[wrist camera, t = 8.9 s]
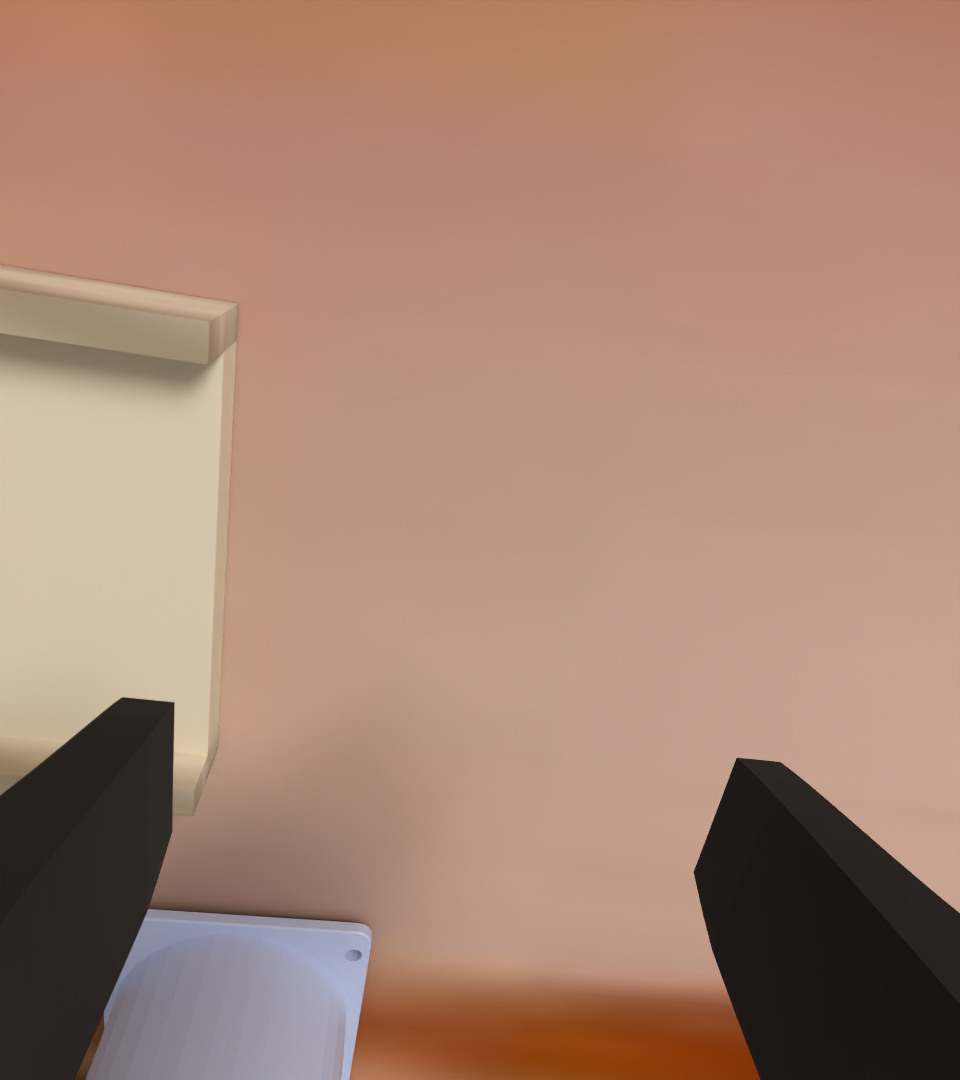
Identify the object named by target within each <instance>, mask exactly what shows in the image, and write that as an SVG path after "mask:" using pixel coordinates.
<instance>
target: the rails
mask: <svg viewBox="0 0 960 1080" xmlns="http://www.w3.org/2000/svg"><path fill="white" fill-rule="evenodd" d="M237 322H238V303H232V302H226V301H219V300H213V299H207V298H201V297H195V296H189V295H183V294H177V293H170V292H164V291H158V290H152V289H146V288H140V287H134V286H127V285H121V284H115V283H109V282H103V281H97V280H91V279H85V278H78V277H72V276H66V275H60V274H54V273H48V272H42V271H35V270H29V269H23V268H17V267H11V266H5V265H0V333H3V334H10V335H16V336H23V337H29V338H36V339H42V340H49V341H55V342H62V343H69V344H75V345H82V346H88V347H95V348H101V349H108V350H114V351H121V352H128V353H134V354H141V355H147V356H154V357H160V358H167V359H173V360H180V361H186V362H193V363H200V364H206V365H208V364H210V363H211V362H212V361H213V360H214V359H216V358H217V357H218V356H219V355H220V354H222V353H223V352H224V351H225V350H226V349H228V348H229V347H230V346H231V345H232V344H234V343H235V342H236V341H237ZM65 743H66V742H57V741H46V740H35V739H24V738H13V737H2V736H0V795H1V794H2V793H4V792H5V791H6V790H7V789H9V788H10V787H11V786H12V785H14V784H15V783H16V782H18V781H19V780H20V779H21V778H23V777H24V776H25V775H27V774H28V773H29V772H30V771H32V770H33V769H34V768H35V767H37V766H38V765H39V764H40V763H42V762H43V761H44V760H45V759H46V758H48V757H49V756H50V755H51V754H53V753H54V752H55V751H56V750H57V749H59V748H60V747H61V746H62V745H64V744H65ZM208 754H209V753H208ZM207 757H208V755H200V754H189V753H178V752H174V762H173V814H176V815H188V816H193V815H194V813H195V810H196V807H197V804H198V802H199V799H200V796H201V793H202V791H203V788H204V785H205V783H206V780H207V777H208V775H207ZM214 758H215V756H214ZM213 761H214V760H213ZM211 766H212V764H211ZM210 769H211V768H210ZM209 772H210V770H209ZM209 772H208V774H209Z"/></svg>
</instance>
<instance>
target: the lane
mask: <svg viewBox="0 0 960 1080" xmlns="http://www.w3.org/2000/svg"><path fill="white" fill-rule="evenodd" d="M236 343H237V341H236V342H235V343H234V344H232V345H231V346H230V347H229V348H228V349H226V350H225V351H224V352H223V353H222V354H220V355H219V356H218V357H217V358H216V359H214V360H213V361H212V362H211V363H210V364H208V365H206V364H200V363H193V362H186V361H180V360H173V359H167V358H160V357H154V356H147V355H141V354H134V353H128V352H121V351H114V350H108V349H101V348H95V347H88V346H82V345H75V344H69V343H62V342H55V341H49V340H42V339H36V338H29V337H23V336H16V335H10V334H3V333H0V736H2V737H13V738H24V739H35V740H46V741H57V742H67V741H68V740H70V739H71V738H72V737H73V736H74V735H76V734H77V733H78V732H79V731H80V730H82V729H83V728H84V727H85V726H86V725H88V724H89V723H90V722H91V721H92V720H94V719H95V718H96V717H97V716H98V715H100V714H101V713H102V712H103V711H105V710H106V709H107V708H108V707H110V706H111V705H112V704H113V703H115V702H116V701H118V700H119V699H120V698H122V697H126V698H136V699H146V700H156V701H167V702H175V709H174V752H178V753H189V754H200V755H208V757H207V775H208V772H209V770H210V768H211V764H212V763H213V760H214V756H215V755H216V752H217V750H218V730H219V708H220V687H221V665H222V644H223V622H224V601H225V580H226V558H227V537H228V515H229V494H230V472H231V451H232V429H233V408H234V386H235V365H236ZM208 753H209V754H208Z"/></svg>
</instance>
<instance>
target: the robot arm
mask: <svg viewBox="0 0 960 1080" xmlns="http://www.w3.org/2000/svg"><path fill="white" fill-rule="evenodd" d="M174 709H175V702H167V701H156V700H146V699H136V698H126V697H122V698H120V699H119V700H118V701H116V702H115V703H113V704H112V705H111V706H110V707H108V708H107V709H106V710H105V711H103V712H102V713H101V714H100V715H98V716H97V717H96V718H95V719H94V720H92V721H91V722H90V723H89V724H88V725H86V726H85V727H84V728H83V729H82V730H80V731H79V732H78V733H77V734H76V735H74V736H73V737H72V738H71V739H70V740H68V741H67V742H66V743H65V744H64V745H62V746H61V747H60V748H59V749H57V750H56V751H55V752H54V753H53V754H51V755H50V756H49V757H48V758H46V759H45V760H44V761H43V762H42V763H40V764H39V765H38V766H37V767H35V768H34V769H33V770H32V771H30V772H29V773H28V774H27V775H25V776H24V777H23V778H21V779H20V780H19V781H18V782H16V783H15V784H14V785H12V786H11V787H10V788H9V789H7V790H6V791H5V792H4V793H2V794H1V795H0V1080H74V1079H75V1076H76V1074H77V1072H78V1070H79V1067H80V1065H81V1063H82V1060H83V1058H84V1056H85V1054H86V1051H87V1049H88V1047H89V1044H90V1042H91V1040H92V1038H93V1035H94V1033H95V1031H96V1029H97V1026H98V1024H99V1022H100V1020H101V1017H102V1015H103V1013H104V1032H103V1034H102V1037H101V1040H100V1042H99V1045H98V1048H97V1050H96V1053H95V1055H94V1058H93V1061H92V1063H91V1066H90V1069H89V1071H88V1074H87V1077H86V1079H85V1080H349V1077H350V1071H351V1065H352V1059H353V1053H354V1047H355V1041H356V1035H357V1028H358V1022H359V1016H360V1010H361V1004H362V998H363V992H364V986H365V980H366V973H367V967H368V961H369V955H370V949H371V942H372V932H371V930H370V928H369V927H367V926H366V925H364V924H361V923H353V922H338V921H323V920H308V919H293V918H277V917H262V916H247V915H232V914H217V913H202V912H186V911H171V910H156V909H148V908H149V905H150V902H151V898H152V895H153V892H154V889H155V886H156V883H157V880H158V876H159V873H160V870H161V867H162V863H163V860H164V857H165V853H166V850H167V847H168V843H169V840H170V837H171V834H172V815H173V762H174ZM694 875H695V880H696V884H697V889H698V893H699V898H700V902H701V907H702V911H703V916H704V920H705V923H706V927H707V931H708V935H709V939H710V943H711V947H712V950H713V953H714V956H715V959H716V962H717V964H718V967H719V970H720V973H721V976H722V978H723V981H724V984H725V986H726V989H727V992H728V994H729V997H730V1000H731V1003H732V1005H733V1008H734V1011H735V1013H736V1016H737V1019H738V1021H739V1024H740V1027H741V1029H742V1032H743V1035H744V1037H745V1040H746V1042H747V1045H748V1048H749V1050H750V1053H751V1056H752V1058H753V1061H754V1063H755V1066H756V1069H757V1071H758V1074H759V1077H760V1079H761V1080H960V913H959V912H957V911H956V910H955V909H954V908H953V907H951V906H950V905H949V904H948V903H946V902H945V901H944V900H943V899H942V898H940V897H939V896H938V895H937V894H936V893H934V892H933V891H932V890H931V889H930V888H928V887H927V886H926V885H925V884H924V883H923V882H921V881H920V880H919V879H918V878H917V877H915V876H914V875H913V874H912V873H911V872H910V871H908V870H907V869H906V868H905V867H904V866H903V865H901V864H900V863H899V862H898V861H897V860H896V859H894V858H893V857H892V856H891V855H890V854H889V853H887V852H886V851H885V850H884V849H883V848H882V847H881V846H879V845H878V844H877V843H876V842H875V841H874V840H872V839H871V838H870V837H869V836H868V835H867V834H866V833H864V832H863V831H862V830H861V829H860V828H859V827H858V826H856V825H855V824H854V823H853V822H852V821H851V820H849V819H848V818H847V817H846V816H845V815H844V814H843V813H841V812H840V811H839V810H838V809H837V808H836V807H835V806H833V805H832V804H831V803H830V802H829V801H828V800H826V799H825V798H824V797H823V796H822V795H820V794H819V793H818V792H817V791H816V790H815V789H813V788H812V787H811V786H810V785H809V784H807V783H806V782H805V781H804V780H803V779H801V778H800V777H799V776H798V775H796V774H795V773H794V772H792V771H791V770H790V769H789V768H787V767H786V766H785V765H783V764H782V763H781V762H774V761H764V760H754V759H744V758H737V759H736V761H735V764H734V767H733V769H732V772H731V775H730V777H729V780H728V783H727V785H726V788H725V791H724V793H723V796H722V799H721V801H720V804H719V806H718V809H717V812H716V814H715V817H714V820H713V822H712V825H711V828H710V830H709V833H708V836H707V838H706V841H705V844H704V846H703V849H702V852H701V854H700V857H699V860H698V862H697V865H696V868H695V870H694Z"/></svg>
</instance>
